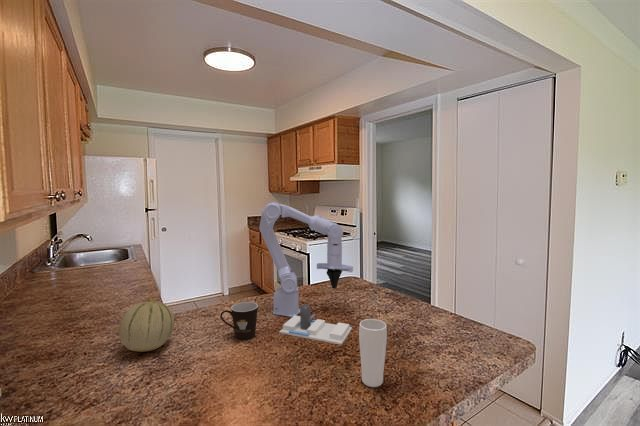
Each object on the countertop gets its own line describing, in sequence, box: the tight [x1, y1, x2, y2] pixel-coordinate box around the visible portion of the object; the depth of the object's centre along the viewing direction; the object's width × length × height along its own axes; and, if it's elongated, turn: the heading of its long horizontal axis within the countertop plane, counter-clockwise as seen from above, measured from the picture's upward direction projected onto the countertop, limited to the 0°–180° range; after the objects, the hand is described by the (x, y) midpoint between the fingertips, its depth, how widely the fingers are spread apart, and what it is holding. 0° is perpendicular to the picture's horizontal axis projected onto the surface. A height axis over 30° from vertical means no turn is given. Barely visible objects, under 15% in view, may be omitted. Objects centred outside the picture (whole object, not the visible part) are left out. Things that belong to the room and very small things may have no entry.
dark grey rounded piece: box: [299, 304, 316, 330], centre depth 111 cm, size 4×10×8 cm, turn 158°
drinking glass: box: [358, 318, 388, 388], centre depth 78 cm, size 7×7×15 cm
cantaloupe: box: [118, 297, 175, 353], centre depth 95 cm, size 15×15×15 cm
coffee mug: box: [219, 301, 259, 342], centre depth 104 cm, size 12×9×10 cm
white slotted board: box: [279, 315, 353, 345], centre depth 107 cm, size 22×12×2 cm, turn 68°
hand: (334, 287), depth 124 cm, fingers closed
